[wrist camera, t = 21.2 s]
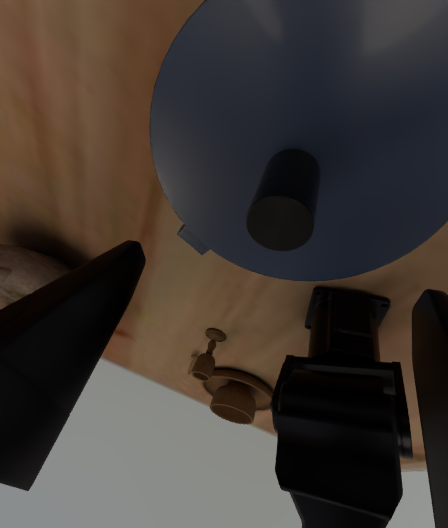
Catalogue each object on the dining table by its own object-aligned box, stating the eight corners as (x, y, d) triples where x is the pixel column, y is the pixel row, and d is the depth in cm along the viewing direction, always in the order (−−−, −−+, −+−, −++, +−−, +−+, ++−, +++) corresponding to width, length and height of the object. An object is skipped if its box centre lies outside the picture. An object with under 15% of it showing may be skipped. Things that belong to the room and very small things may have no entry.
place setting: (183, 376, 52) (170, 409, 48) (204, 323, 37) (187, 366, 33) (274, 412, 52) (268, 449, 48) (330, 374, 37) (328, 423, 33)
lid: (548, 185, 12) (629, 272, 9) (278, 295, 22) (265, 356, 18) (343, -233, 7) (340, -415, 4) (115, 150, 17) (56, 196, 13)
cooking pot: (-51, 172, 31) (-195, 246, 23) (111, 223, 29) (19, 323, 21) (32, 304, 49) (-30, 371, 41) (135, 340, 47) (90, 418, 39)
